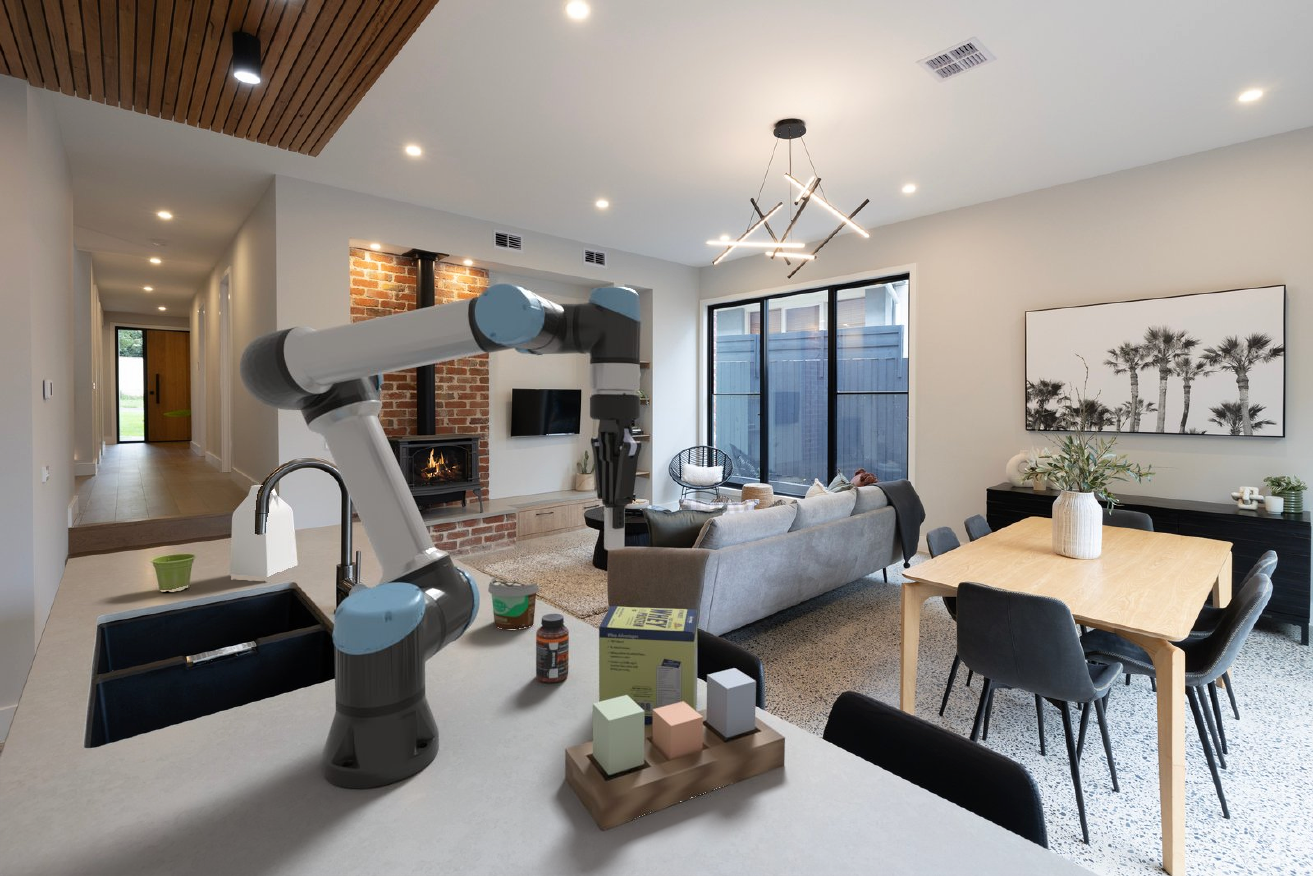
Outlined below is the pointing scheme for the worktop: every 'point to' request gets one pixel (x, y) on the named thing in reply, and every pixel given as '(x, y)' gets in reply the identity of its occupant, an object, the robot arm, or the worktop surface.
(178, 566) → the plant pot
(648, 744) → the walnut board
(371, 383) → the robot arm
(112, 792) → the worktop surface
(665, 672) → the protein box
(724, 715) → the slate upright cuboid
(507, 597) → the food container
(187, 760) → the worktop surface
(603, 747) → the sage rectangular block
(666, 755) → the peach rectangular prism
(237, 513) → the milk
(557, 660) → the supplement bottle
